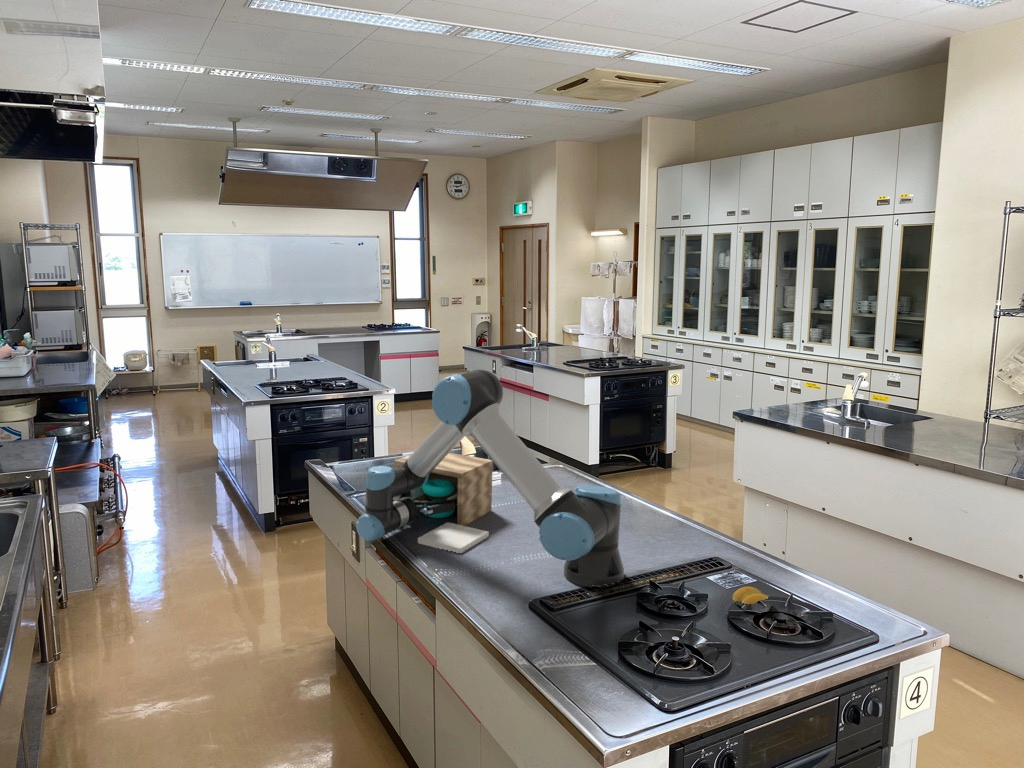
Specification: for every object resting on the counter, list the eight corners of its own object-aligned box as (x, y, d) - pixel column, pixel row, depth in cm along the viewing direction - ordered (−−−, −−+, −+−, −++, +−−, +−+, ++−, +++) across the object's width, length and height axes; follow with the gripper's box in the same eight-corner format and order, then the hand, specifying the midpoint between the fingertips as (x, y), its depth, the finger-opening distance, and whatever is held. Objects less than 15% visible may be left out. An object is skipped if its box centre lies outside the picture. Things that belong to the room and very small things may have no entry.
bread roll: (751, 618, 168) (752, 601, 168) (726, 600, 177) (728, 585, 176) (780, 612, 171) (782, 596, 171) (755, 596, 180) (756, 580, 179)
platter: (460, 554, 199) (460, 548, 199) (417, 543, 206) (417, 538, 206) (488, 536, 212) (488, 531, 212) (447, 527, 219) (447, 522, 219)
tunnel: (461, 527, 219) (462, 473, 216) (394, 511, 231) (394, 460, 228) (491, 510, 234) (492, 460, 231) (426, 496, 246) (427, 448, 243)
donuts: (460, 480, 231) (445, 489, 222) (459, 511, 233) (444, 521, 224) (432, 476, 235) (416, 484, 226) (431, 506, 237) (416, 516, 227)
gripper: (365, 517, 219) (408, 498, 237) (435, 534, 207) (475, 512, 226) (365, 493, 218) (409, 475, 236) (435, 508, 206) (475, 488, 224)
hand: (441, 493), depth 231 cm, fingers open, 13 cm apart
